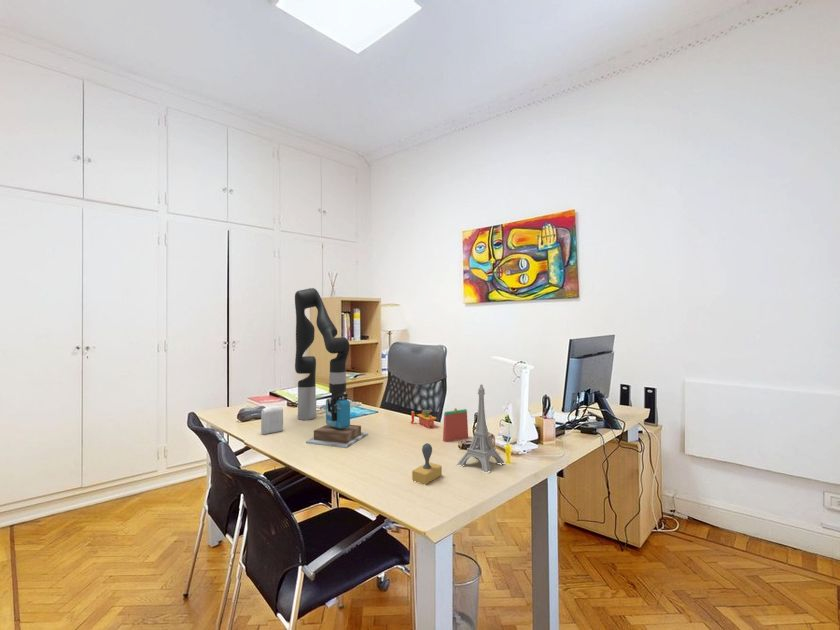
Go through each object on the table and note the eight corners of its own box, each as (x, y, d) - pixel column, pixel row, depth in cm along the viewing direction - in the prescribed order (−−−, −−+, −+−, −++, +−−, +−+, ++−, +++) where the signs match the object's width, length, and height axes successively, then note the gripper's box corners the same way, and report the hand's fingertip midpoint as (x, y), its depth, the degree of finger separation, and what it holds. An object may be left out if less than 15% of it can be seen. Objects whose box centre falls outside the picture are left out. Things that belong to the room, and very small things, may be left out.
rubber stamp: (428, 472, 148) (428, 438, 148) (442, 475, 145) (442, 441, 145) (411, 481, 140) (411, 445, 140) (425, 485, 137) (425, 449, 137)
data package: (325, 424, 190) (325, 398, 189) (333, 422, 193) (333, 396, 193) (342, 429, 182) (342, 402, 182) (350, 427, 185) (350, 400, 185)
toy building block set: (445, 442, 183) (445, 410, 183) (407, 424, 213) (408, 396, 213) (468, 438, 189) (468, 407, 189) (428, 420, 219) (428, 394, 219)
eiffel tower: (505, 464, 156) (506, 384, 156) (487, 474, 146) (487, 389, 146) (475, 456, 165) (475, 380, 165) (456, 465, 155) (456, 385, 155)
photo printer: (280, 429, 203) (280, 403, 203) (284, 430, 200) (284, 405, 200) (259, 433, 196) (259, 407, 196) (263, 435, 193) (263, 408, 193)
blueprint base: (330, 430, 200) (330, 420, 200) (367, 434, 193) (367, 424, 193) (305, 443, 181) (305, 432, 181) (346, 448, 175) (346, 436, 175)
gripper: (338, 378, 195) (338, 414, 195) (321, 383, 182) (321, 422, 182) (352, 379, 193) (352, 416, 193) (336, 384, 179) (336, 424, 179)
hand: (337, 419), depth 187 cm, fingers closed on data package, 5 cm apart
